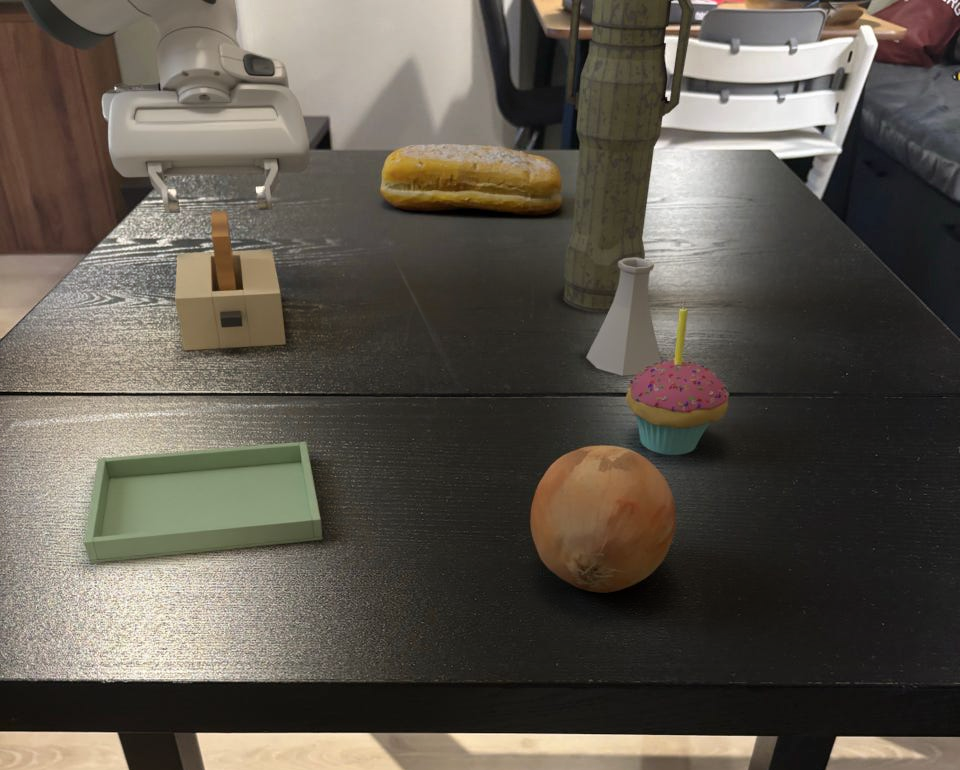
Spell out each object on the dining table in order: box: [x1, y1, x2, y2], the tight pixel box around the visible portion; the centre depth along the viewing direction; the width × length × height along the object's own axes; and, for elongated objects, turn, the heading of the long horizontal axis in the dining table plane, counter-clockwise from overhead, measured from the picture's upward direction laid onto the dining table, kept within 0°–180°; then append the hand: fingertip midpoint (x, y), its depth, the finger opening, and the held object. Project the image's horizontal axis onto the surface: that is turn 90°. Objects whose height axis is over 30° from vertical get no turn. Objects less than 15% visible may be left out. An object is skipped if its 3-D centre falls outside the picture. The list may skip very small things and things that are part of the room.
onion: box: [529, 445, 677, 594], centre depth 63 cm, size 10×10×10 cm
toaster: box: [174, 249, 287, 352], centre depth 97 cm, size 16×10×6 cm, turn 13°
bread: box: [379, 143, 563, 216], centre depth 136 cm, size 13×26×8 cm, turn 91°
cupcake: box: [625, 298, 730, 456], centre depth 78 cm, size 9×8×12 cm
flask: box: [585, 257, 662, 377], centre depth 92 cm, size 7×7×10 cm
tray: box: [83, 441, 324, 564], centre depth 71 cm, size 16×12×2 cm
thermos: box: [562, 0, 695, 314], centre depth 98 cm, size 9×12×35 cm
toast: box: [210, 209, 238, 291], centre depth 96 cm, size 9×2×10 cm, turn 13°
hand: (219, 208), depth 97 cm, fingers open, 8 cm apart
